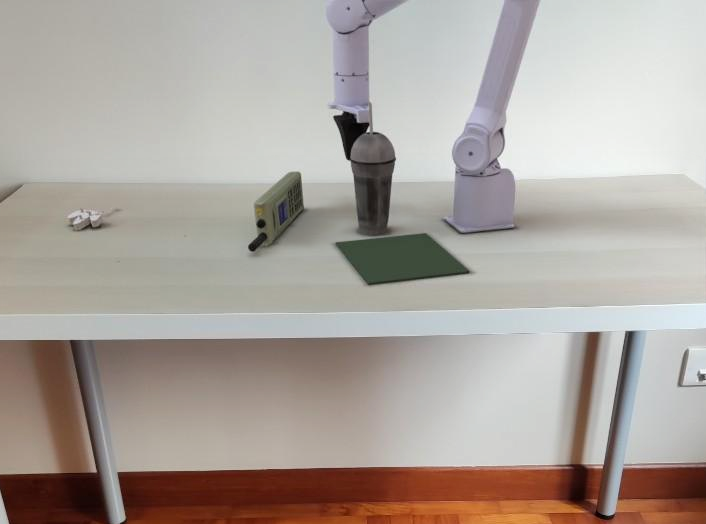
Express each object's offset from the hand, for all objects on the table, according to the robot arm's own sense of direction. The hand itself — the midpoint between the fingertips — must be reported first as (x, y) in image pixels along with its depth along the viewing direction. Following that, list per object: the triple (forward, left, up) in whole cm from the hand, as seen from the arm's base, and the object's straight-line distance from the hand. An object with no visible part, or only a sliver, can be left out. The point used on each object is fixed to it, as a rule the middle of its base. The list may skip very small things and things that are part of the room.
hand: (352, 159), depth 138 cm
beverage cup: (0, +12, -9) cm, 15 cm away
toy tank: (+43, -8, -9) cm, 45 cm away
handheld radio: (+15, +7, -9) cm, 19 cm away
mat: (0, +25, -9) cm, 27 cm away
